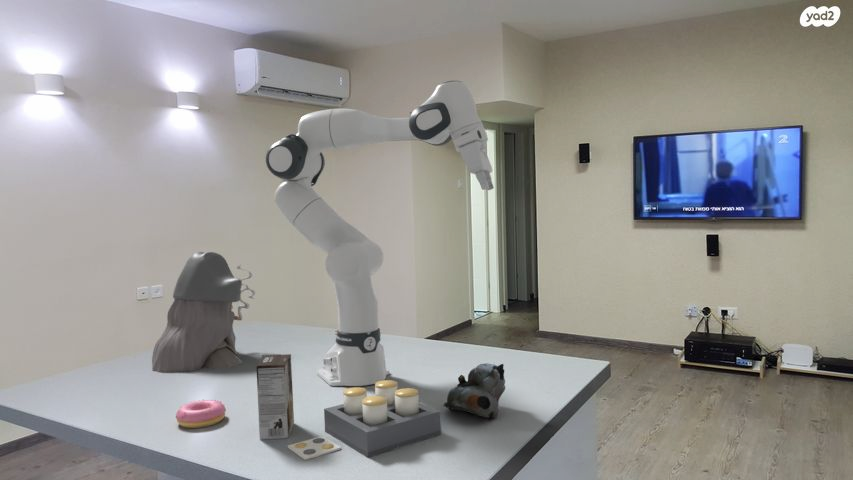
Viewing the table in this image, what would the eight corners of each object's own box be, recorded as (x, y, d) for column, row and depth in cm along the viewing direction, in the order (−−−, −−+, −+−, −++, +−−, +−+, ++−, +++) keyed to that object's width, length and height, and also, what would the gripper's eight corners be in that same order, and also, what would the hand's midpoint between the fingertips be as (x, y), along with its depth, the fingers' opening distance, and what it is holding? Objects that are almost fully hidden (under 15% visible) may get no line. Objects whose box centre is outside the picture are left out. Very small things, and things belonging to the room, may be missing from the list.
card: (287, 447, 125) (287, 444, 125) (323, 437, 130) (322, 435, 130) (304, 460, 119) (304, 457, 119) (341, 449, 124) (341, 446, 124)
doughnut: (225, 426, 139) (224, 408, 139) (173, 433, 136) (172, 414, 135) (227, 411, 149) (226, 394, 149) (178, 417, 146) (177, 400, 146)
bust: (277, 352, 207) (272, 249, 204) (190, 379, 178) (184, 259, 176) (211, 342, 225) (206, 247, 223) (123, 365, 196) (116, 256, 194)
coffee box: (266, 424, 139) (262, 354, 138) (294, 423, 139) (291, 353, 138) (258, 440, 130) (254, 365, 129) (289, 438, 130) (286, 363, 129)
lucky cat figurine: (439, 406, 148) (459, 351, 151) (486, 424, 148) (505, 369, 151) (447, 408, 133) (469, 347, 137) (499, 428, 133) (519, 367, 137)
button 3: (371, 405, 138) (370, 383, 137) (390, 400, 141) (389, 378, 140) (383, 410, 134) (382, 388, 133) (402, 405, 137) (401, 383, 136)
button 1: (339, 413, 133) (339, 390, 133) (359, 408, 136) (359, 385, 136) (351, 419, 129) (350, 396, 129) (371, 413, 132) (370, 391, 132)
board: (324, 431, 134) (324, 408, 133) (393, 412, 144) (393, 391, 144) (367, 457, 119) (366, 432, 119) (440, 434, 130) (440, 411, 130)
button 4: (391, 414, 131) (390, 391, 131) (410, 409, 134) (409, 386, 134) (404, 420, 127) (403, 397, 127) (423, 415, 130) (423, 392, 130)
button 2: (358, 423, 127) (357, 399, 126) (379, 417, 129) (378, 394, 129) (371, 430, 123) (370, 405, 122) (392, 424, 125) (391, 400, 125)
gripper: (465, 147, 172) (482, 193, 171) (451, 140, 152) (471, 193, 152) (486, 138, 170) (504, 185, 170) (475, 131, 150) (495, 184, 150)
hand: (488, 189), depth 161 cm, fingers open, 8 cm apart
